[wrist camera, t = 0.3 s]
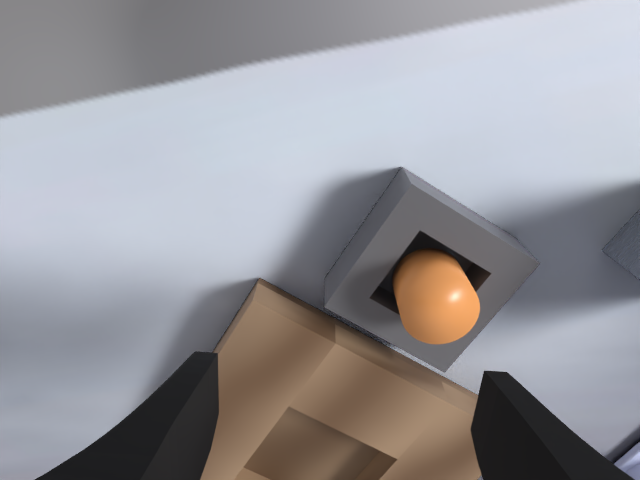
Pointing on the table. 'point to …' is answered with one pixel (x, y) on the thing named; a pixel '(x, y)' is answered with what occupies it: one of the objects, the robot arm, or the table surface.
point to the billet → (627, 246)
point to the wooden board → (330, 402)
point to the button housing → (414, 234)
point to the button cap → (434, 296)
